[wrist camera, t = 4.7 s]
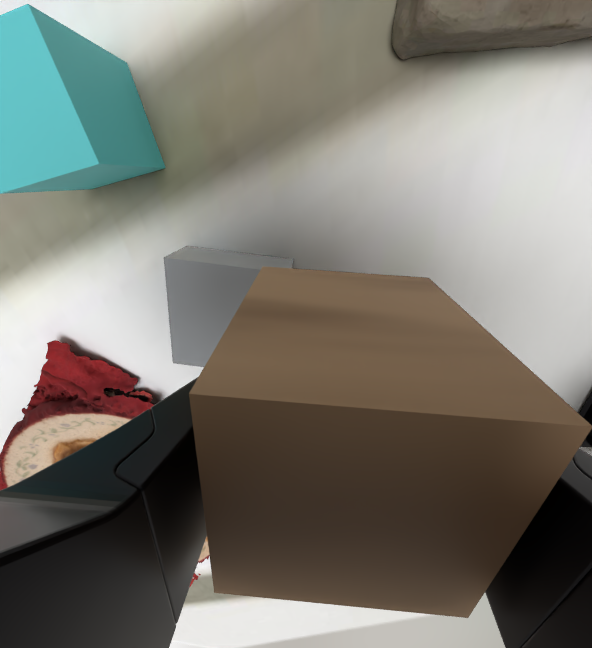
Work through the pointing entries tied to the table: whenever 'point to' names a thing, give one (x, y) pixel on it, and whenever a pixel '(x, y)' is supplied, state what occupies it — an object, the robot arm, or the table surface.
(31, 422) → the plate with food
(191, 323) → the grey slab
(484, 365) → the walnut cube
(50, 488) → the robot arm
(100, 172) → the teal cube
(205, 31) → the table surface
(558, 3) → the marble piece
